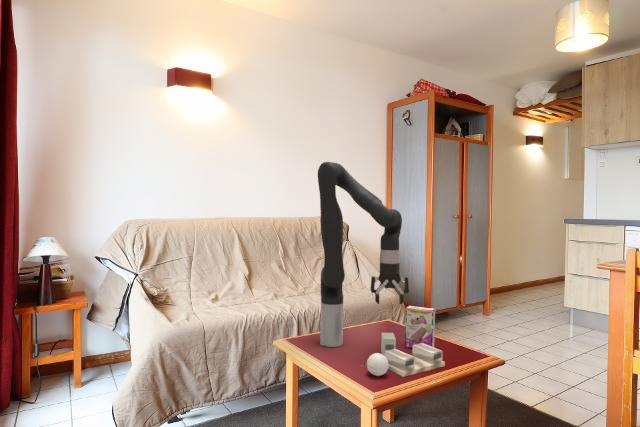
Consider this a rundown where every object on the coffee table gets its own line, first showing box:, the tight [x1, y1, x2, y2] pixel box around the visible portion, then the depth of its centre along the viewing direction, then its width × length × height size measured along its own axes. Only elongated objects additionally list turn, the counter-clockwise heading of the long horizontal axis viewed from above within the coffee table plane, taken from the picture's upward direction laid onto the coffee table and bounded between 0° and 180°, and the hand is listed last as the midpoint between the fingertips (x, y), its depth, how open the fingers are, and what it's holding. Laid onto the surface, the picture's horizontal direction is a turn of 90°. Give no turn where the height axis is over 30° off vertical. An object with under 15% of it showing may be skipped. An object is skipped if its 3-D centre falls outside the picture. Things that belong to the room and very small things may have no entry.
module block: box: [380, 332, 397, 356], centre depth 159 cm, size 4×8×8 cm, turn 177°
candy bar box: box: [404, 305, 436, 349], centre depth 169 cm, size 11×5×16 cm, turn 65°
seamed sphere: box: [360, 352, 389, 377], centre depth 141 cm, size 10×7×7 cm
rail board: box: [385, 343, 446, 378], centre depth 149 cm, size 20×11×6 cm, turn 121°
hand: (389, 303), depth 158 cm, fingers open, 8 cm apart
